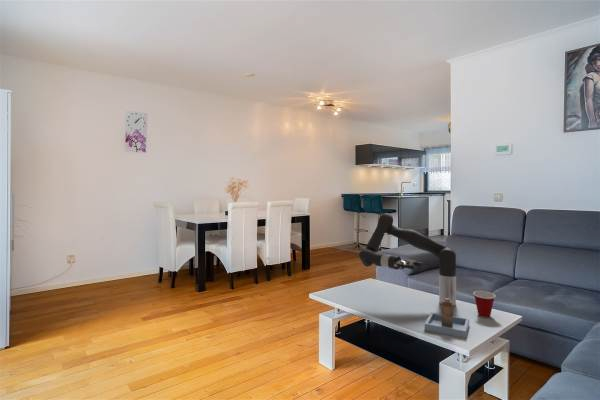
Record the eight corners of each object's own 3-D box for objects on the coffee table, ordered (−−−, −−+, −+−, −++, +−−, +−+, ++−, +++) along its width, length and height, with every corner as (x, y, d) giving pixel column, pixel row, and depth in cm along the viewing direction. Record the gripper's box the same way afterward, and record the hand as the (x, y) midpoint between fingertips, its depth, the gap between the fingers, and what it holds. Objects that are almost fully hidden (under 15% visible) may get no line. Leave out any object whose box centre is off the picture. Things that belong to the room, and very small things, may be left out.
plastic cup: (474, 317, 179) (474, 295, 179) (471, 311, 189) (471, 290, 189) (497, 320, 175) (497, 297, 175) (493, 313, 186) (493, 291, 185)
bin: (431, 318, 178) (431, 312, 178) (469, 325, 169) (469, 318, 169) (424, 330, 163) (424, 323, 163) (465, 338, 154) (465, 331, 154)
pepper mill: (442, 323, 170) (442, 296, 169) (453, 325, 167) (453, 298, 167) (440, 326, 165) (440, 299, 165) (451, 329, 163) (451, 301, 162)
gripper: (397, 266, 195) (424, 270, 183) (383, 270, 185) (411, 275, 173) (397, 253, 195) (424, 257, 183) (383, 256, 185) (411, 260, 173)
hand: (417, 266), depth 178 cm, fingers open, 8 cm apart
